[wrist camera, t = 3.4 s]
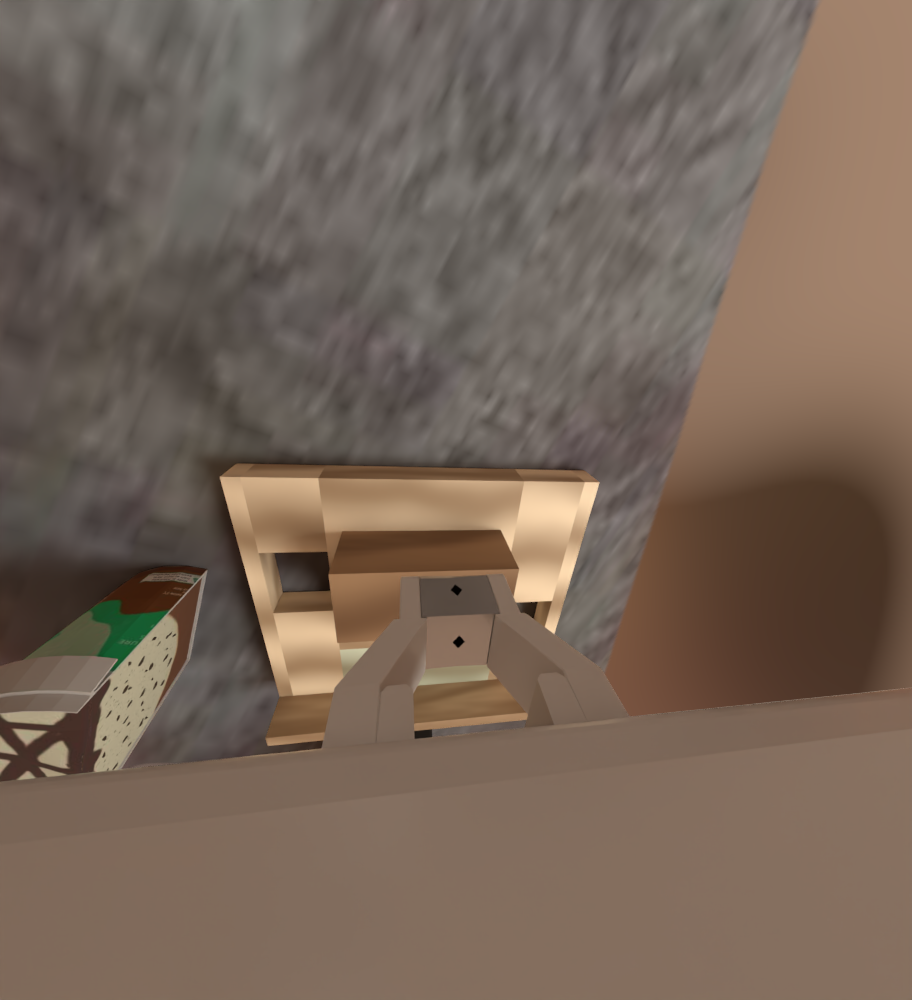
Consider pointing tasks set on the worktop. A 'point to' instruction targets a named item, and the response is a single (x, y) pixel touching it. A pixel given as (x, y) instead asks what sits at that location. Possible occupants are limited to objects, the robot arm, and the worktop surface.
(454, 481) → the wooden frame
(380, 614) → the block
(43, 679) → the food container
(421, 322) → the worktop surface
